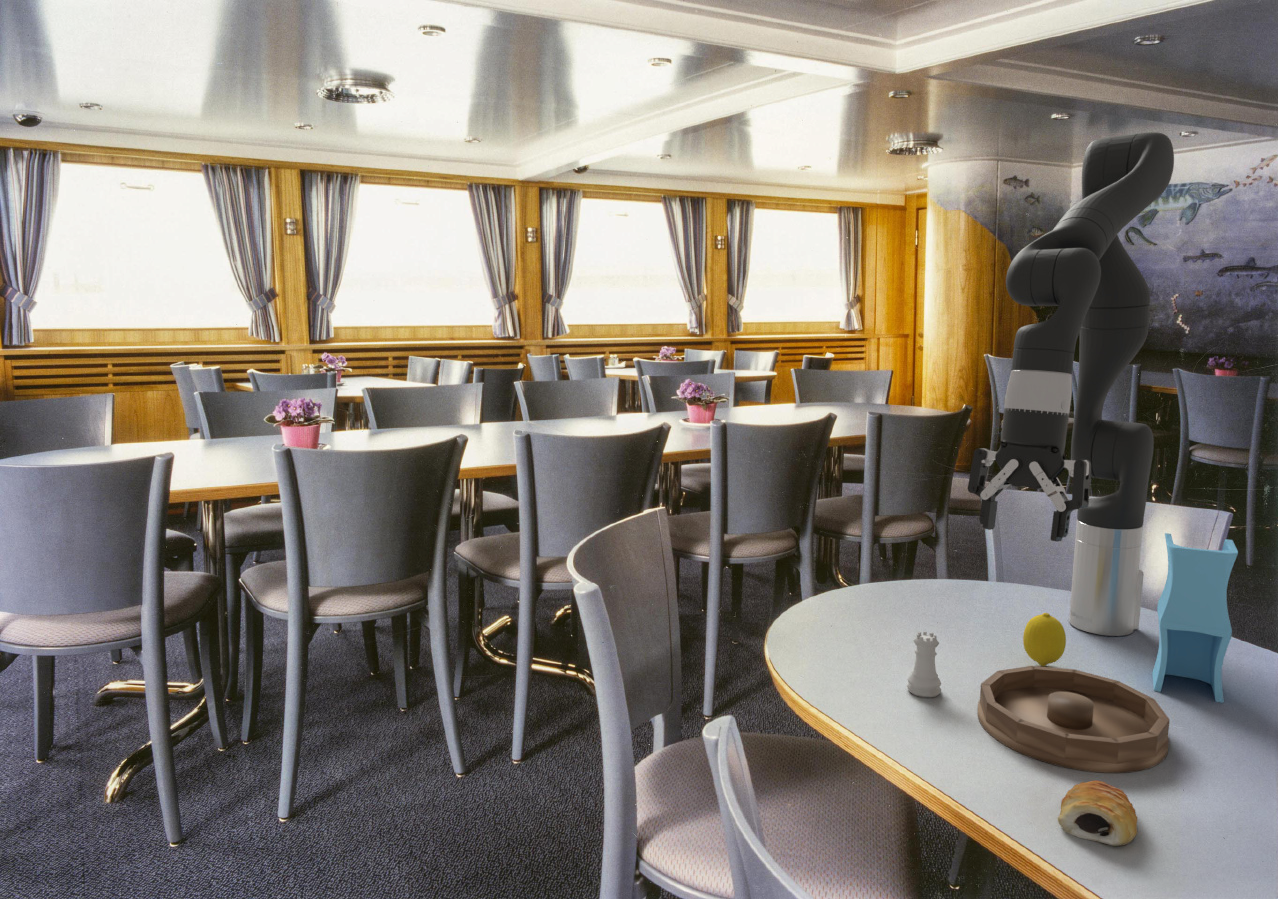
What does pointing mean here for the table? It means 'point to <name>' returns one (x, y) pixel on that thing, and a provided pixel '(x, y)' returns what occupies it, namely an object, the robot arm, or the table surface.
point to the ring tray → (1073, 748)
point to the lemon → (1044, 639)
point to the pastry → (1098, 814)
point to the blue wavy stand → (1194, 615)
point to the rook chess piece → (925, 667)
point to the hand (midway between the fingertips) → (1021, 534)
